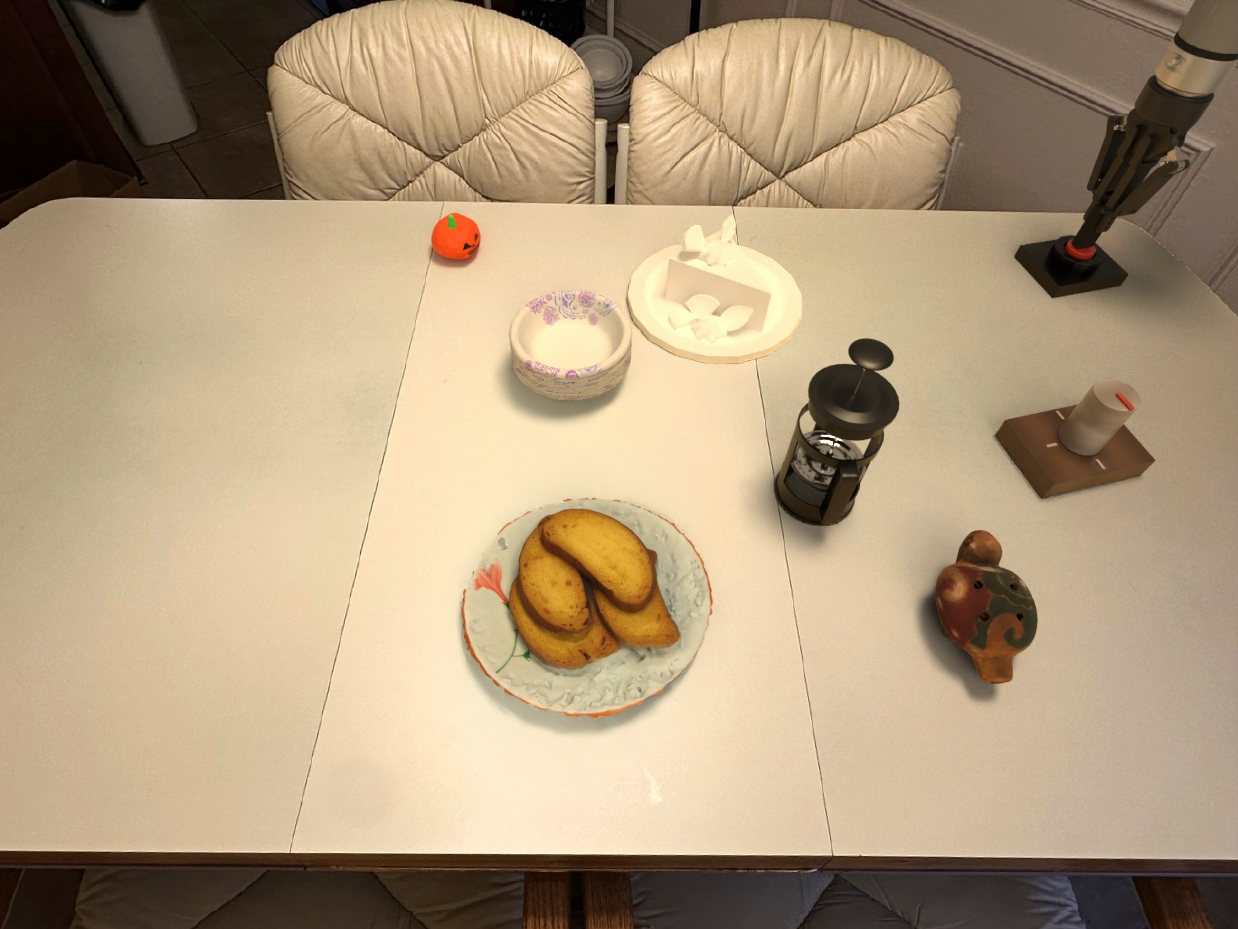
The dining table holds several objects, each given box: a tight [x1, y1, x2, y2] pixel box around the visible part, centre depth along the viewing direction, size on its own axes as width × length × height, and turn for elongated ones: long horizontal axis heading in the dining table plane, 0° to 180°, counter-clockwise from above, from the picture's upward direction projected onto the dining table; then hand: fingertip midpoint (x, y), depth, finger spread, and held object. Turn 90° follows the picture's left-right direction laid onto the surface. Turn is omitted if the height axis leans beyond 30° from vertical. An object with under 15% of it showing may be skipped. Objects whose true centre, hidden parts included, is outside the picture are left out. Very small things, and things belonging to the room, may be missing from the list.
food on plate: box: [461, 497, 714, 720], centre depth 75 cm, size 25×25×7 cm
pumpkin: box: [430, 212, 482, 260], centre depth 110 cm, size 7×8×6 cm
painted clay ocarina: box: [934, 529, 1039, 685], centre depth 75 cm, size 10×15×8 cm, turn 1°
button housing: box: [1013, 234, 1130, 299], centre depth 112 cm, size 12×10×4 cm
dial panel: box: [994, 403, 1156, 499], centre depth 90 cm, size 14×10×3 cm
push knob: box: [1064, 239, 1096, 260], centre depth 110 cm, size 4×4×2 cm
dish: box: [627, 213, 803, 364], centre depth 102 cm, size 25×25×11 cm
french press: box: [773, 337, 901, 527], centre depth 78 cm, size 12×9×23 cm
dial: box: [1058, 377, 1141, 456], centre depth 86 cm, size 5×5×8 cm
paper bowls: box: [508, 289, 633, 401], centre depth 95 cm, size 15×15×8 cm
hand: (1082, 244), depth 109 cm, fingers closed
